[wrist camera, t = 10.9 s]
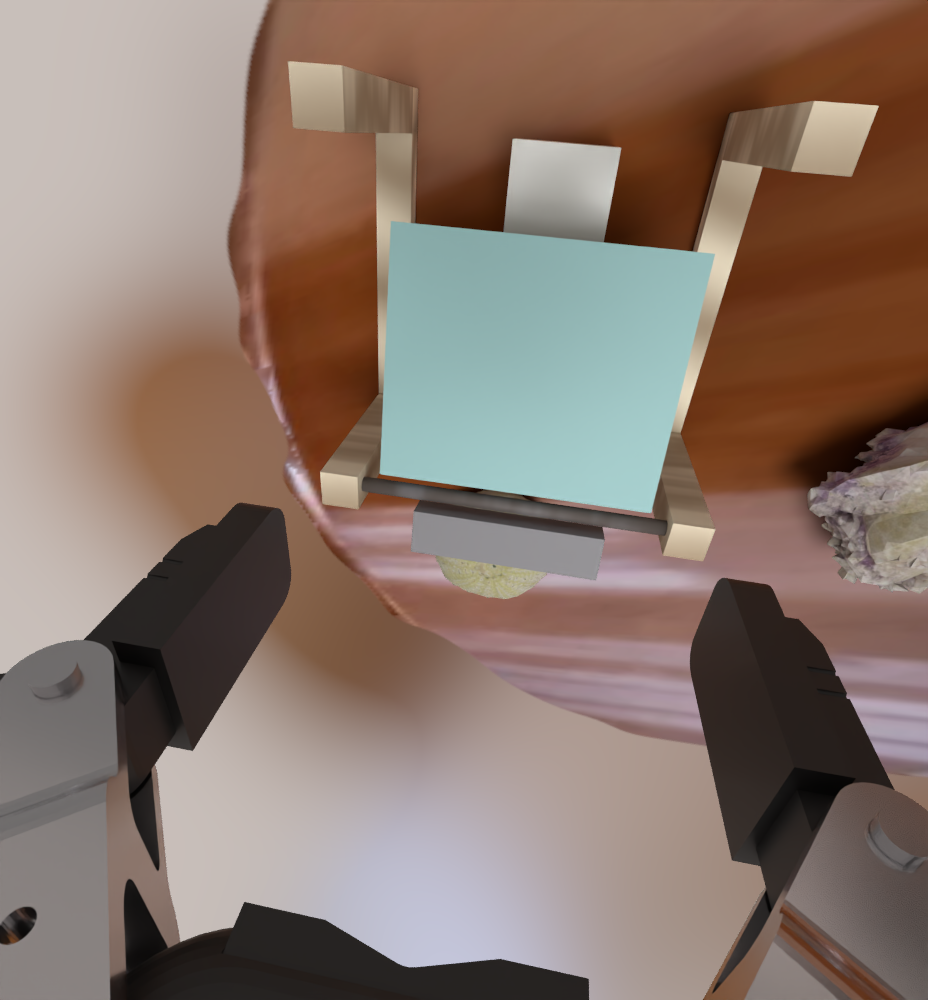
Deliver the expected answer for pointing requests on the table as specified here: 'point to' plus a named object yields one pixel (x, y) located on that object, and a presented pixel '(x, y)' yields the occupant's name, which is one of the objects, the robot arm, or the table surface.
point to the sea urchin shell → (489, 571)
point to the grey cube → (560, 189)
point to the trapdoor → (532, 382)
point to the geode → (881, 512)
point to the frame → (744, 151)
